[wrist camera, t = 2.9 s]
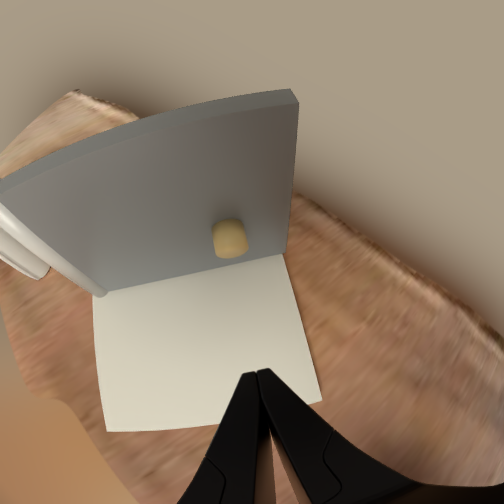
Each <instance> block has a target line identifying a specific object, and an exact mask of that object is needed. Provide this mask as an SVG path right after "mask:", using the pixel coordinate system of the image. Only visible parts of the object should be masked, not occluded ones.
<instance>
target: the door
mask: <svg viewBox="0 0 504 504" xmlns="http://www.w3.org/2000/svg"><path fill="white" fill-rule="evenodd" d="M298 113H299V102H298V100H297V99H296V97H295V95H294V94H293V92H292V91H291V89H282V90H274V91H266V92H259V93H252V94H246V95H240V96H234V97H229V98H224V99H218V100H213V101H209V102H204V103H199V104H195V105H191V106H186V107H182V108H178V109H175V110H171V111H167V112H163V113H160V114H156V115H153V116H149V117H146V118H143V119H140V120H136V121H133V122H130V123H127V124H124V125H121V126H118V127H115V128H112V129H110V130H107V131H104V132H101V133H99V134H96V135H94V136H91V137H88V138H86V139H83V140H81V141H78V142H76V143H74V144H71V145H69V146H67V147H64V148H62V149H60V150H58V151H55V152H53V153H51V154H49V155H47V156H45V157H43V158H41V159H39V160H37V161H35V162H33V163H31V164H29V165H27V166H25V167H23V168H21V169H19V170H17V171H15V172H14V173H12V174H10V175H8V176H6V177H5V178H3V179H1V178H0V227H1V228H2V229H4V230H5V231H6V232H7V233H8V234H10V235H11V236H12V237H13V238H14V239H16V240H17V241H18V242H19V243H21V244H22V245H23V246H24V247H26V248H27V249H28V250H30V251H31V252H32V253H34V254H35V255H36V256H37V257H39V258H40V259H41V260H43V261H44V262H46V263H47V264H48V265H50V266H51V267H52V268H54V269H55V270H57V271H58V272H59V273H61V274H62V275H64V276H65V277H67V278H68V279H69V280H71V281H72V282H74V283H75V284H77V285H78V286H80V287H81V288H83V289H84V290H86V291H87V292H89V293H91V294H92V295H94V296H95V297H97V298H102V297H104V296H105V295H106V294H107V293H108V292H109V291H114V290H119V289H123V288H128V287H133V286H137V285H142V284H147V283H151V282H156V281H160V280H165V279H170V278H174V277H179V276H183V275H188V274H192V273H197V272H201V271H206V270H211V269H215V268H220V267H224V266H229V265H233V264H238V263H242V262H246V261H251V260H255V259H260V258H264V257H269V256H273V255H278V254H282V253H286V245H287V236H288V227H289V217H290V207H291V197H292V186H293V175H294V163H295V153H296V139H297V126H298Z"/></svg>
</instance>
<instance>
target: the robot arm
mask: <svg viewBox="0 0 504 504" xmlns="http://www.w3.org/2000/svg"><path fill="white" fill-rule="evenodd" d="M270 432H271V434H270ZM271 435H272V438H273V441H274V444H275V446H276V449H277V451H278V454H279V456H280V459H281V461H282V464H283V466H284V468H285V471H286V473H287V476H288V478H289V480H290V483H291V485H292V488H293V490H294V492H295V495H296V497H297V499H298V502H299V504H504V483H501V484H498V485H494V486H485V487H468V486H445V485H432V484H425V483H421V482H417V481H414V480H412V479H410V478H408V477H406V476H404V475H402V474H400V473H398V472H396V471H395V470H393V469H391V468H389V467H387V466H386V465H384V464H382V463H381V462H379V461H377V460H375V459H374V458H372V457H370V456H369V455H367V454H366V453H364V452H363V451H361V450H360V449H358V448H357V447H356V446H354V445H353V444H352V443H350V442H349V441H348V440H347V439H345V438H344V437H343V436H342V435H341V434H340V433H339V432H337V431H336V430H334V428H333V427H332V426H330V425H329V424H328V423H327V422H326V421H325V420H324V419H323V418H322V417H321V416H319V415H318V414H317V413H316V412H315V411H314V410H313V409H312V408H311V407H310V406H309V405H308V404H306V403H305V402H304V401H303V400H302V399H301V398H300V397H299V396H298V395H297V394H296V393H295V392H294V391H293V390H292V389H291V388H290V387H289V386H288V385H287V384H286V383H285V382H283V381H282V380H281V379H280V378H279V377H278V376H277V375H276V374H275V373H274V372H273V371H272V370H271V369H270V368H264V369H260V370H257V371H256V372H255V371H250V372H246V373H243V374H242V375H241V377H240V379H239V381H238V384H237V386H236V388H235V390H234V393H233V395H232V397H231V399H230V402H229V404H228V406H227V408H226V411H225V413H224V415H223V417H222V420H221V422H220V424H219V426H218V428H217V430H216V433H215V435H214V437H213V439H212V441H211V443H210V446H209V448H208V450H207V452H206V454H205V457H204V458H203V460H202V462H201V464H200V466H199V468H198V470H197V472H196V474H195V476H194V478H193V480H192V481H191V483H190V485H189V486H188V488H187V489H186V491H185V492H184V494H183V495H182V497H181V498H180V500H179V501H178V502H177V504H276V493H275V480H274V468H273V455H272V442H271Z"/></svg>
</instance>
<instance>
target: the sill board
mask: <svg viewBox="0 0 504 504" xmlns="http://www.w3.org/2000/svg"><path fill="white" fill-rule="evenodd" d="M93 324H94V340H95V353H96V363H97V372H98V380H99V388H100V394H101V401H102V407H103V413H104V418H105V423H106V428H107V431H151V430H167V429H178V428H188V427H197V426H205V425H212V424H219V423H220V422H221V420H222V417H223V415H224V413H225V411H226V408H227V406H228V404H229V402H230V399H231V397H232V395H233V393H234V390H235V388H236V386H237V384H238V381H239V379H240V377H241V375H242V374H243V373H246V372H250V371H255V372H256V371H257V370H260V369H264V368H270V369H271V370H272V371H273V372H274V373H275V374H276V375H277V376H278V377H279V378H280V379H281V380H282V381H283V382H285V383H286V384H287V385H288V386H289V387H290V388H291V389H292V390H293V391H294V392H295V393H296V394H297V395H298V396H299V397H300V398H301V399H302V400H303V401H304V402H305V403H306V404H311V403H315V402H318V401H322V397H321V393H320V389H319V385H318V381H317V377H316V374H315V370H314V366H313V362H312V358H311V355H310V351H309V347H308V343H307V340H306V336H305V332H304V329H303V325H302V321H301V318H300V314H299V311H298V307H297V304H296V300H295V296H294V293H293V289H292V286H291V282H290V279H289V276H288V272H287V269H286V265H285V262H284V258H283V255H282V254H278V255H273V256H269V257H264V258H260V259H255V260H251V261H246V262H242V263H238V264H233V265H229V266H224V267H220V268H215V269H211V270H206V271H201V272H197V273H192V274H188V275H183V276H179V277H174V278H170V279H165V280H160V281H156V282H151V283H147V284H142V285H137V286H133V287H128V288H123V289H119V290H114V291H109V292H108V293H107V294H106V295H105V296H104V297H102V298H97V297H95V296H94V295H93Z"/></svg>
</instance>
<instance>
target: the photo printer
mask: <svg viewBox="0 0 504 504" xmlns="http://www.w3.org/2000/svg"><path fill="white" fill-rule="evenodd" d="M0 259H2V260H3V261H5V262H6V263H8V264H9V265H11V266H12V267H14V268H15V269H17V270H18V271H20V272H22V273H23V274H25V275H27V276H29V277H31V278H33V279H36V280H39V279H40V278H43V277H44V276H45V275H46V273H47V272H48V270H49V268H50V265H48V264H47V263H46V262H44V261H43V260H41V259H40V258H39V257H37V256H36V255H35V254H34V253H32V252H31V251H30V250H28V249H27V248H26V247H24V246H23V245H22V244H21V243H19V242H18V241H17V240H16V239H14V238H13V237H12V236H11V235H10V234H8V233H7V232H6V231H5V230H4V229H2V228H1V227H0Z"/></svg>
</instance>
